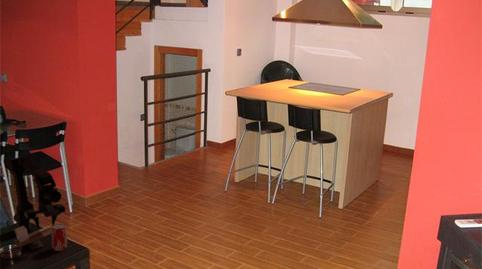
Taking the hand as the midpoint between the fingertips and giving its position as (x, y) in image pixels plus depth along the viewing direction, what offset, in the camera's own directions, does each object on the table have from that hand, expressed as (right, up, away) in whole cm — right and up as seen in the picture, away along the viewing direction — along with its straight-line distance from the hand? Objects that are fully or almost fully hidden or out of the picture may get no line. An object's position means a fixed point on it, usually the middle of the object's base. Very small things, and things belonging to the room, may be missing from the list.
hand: (45, 227), depth 261 cm
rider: (-9, -5, -6) cm, 12 cm away
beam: (-5, -5, -3) cm, 7 cm away
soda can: (+9, -10, -5) cm, 14 cm away
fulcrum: (-5, -9, -2) cm, 10 cm away
